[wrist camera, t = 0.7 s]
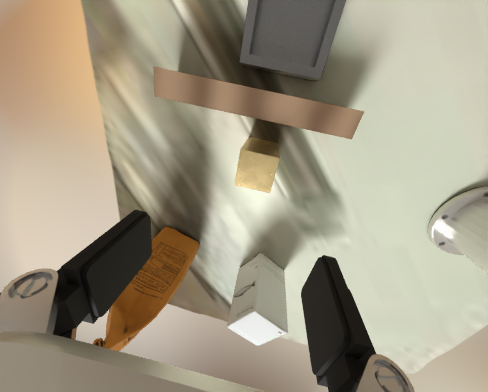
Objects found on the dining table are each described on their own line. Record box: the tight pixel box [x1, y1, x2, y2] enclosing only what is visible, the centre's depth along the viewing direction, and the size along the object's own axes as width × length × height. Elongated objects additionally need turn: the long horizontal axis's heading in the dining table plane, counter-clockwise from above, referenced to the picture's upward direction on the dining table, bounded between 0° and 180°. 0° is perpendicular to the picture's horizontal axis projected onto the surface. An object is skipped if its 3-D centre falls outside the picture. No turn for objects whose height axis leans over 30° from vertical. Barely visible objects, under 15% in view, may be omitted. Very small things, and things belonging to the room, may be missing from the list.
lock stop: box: [234, 137, 280, 193], centre depth 26 cm, size 4×4×9 cm
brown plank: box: [154, 67, 364, 139], centre depth 24 cm, size 24×3×6 cm, turn 80°
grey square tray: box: [240, 0, 346, 81], centre depth 21 cm, size 10×10×2 cm
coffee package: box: [93, 227, 199, 351], centre depth 32 cm, size 10×12×22 cm
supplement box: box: [227, 253, 288, 346], centre depth 36 cm, size 7×7×13 cm
